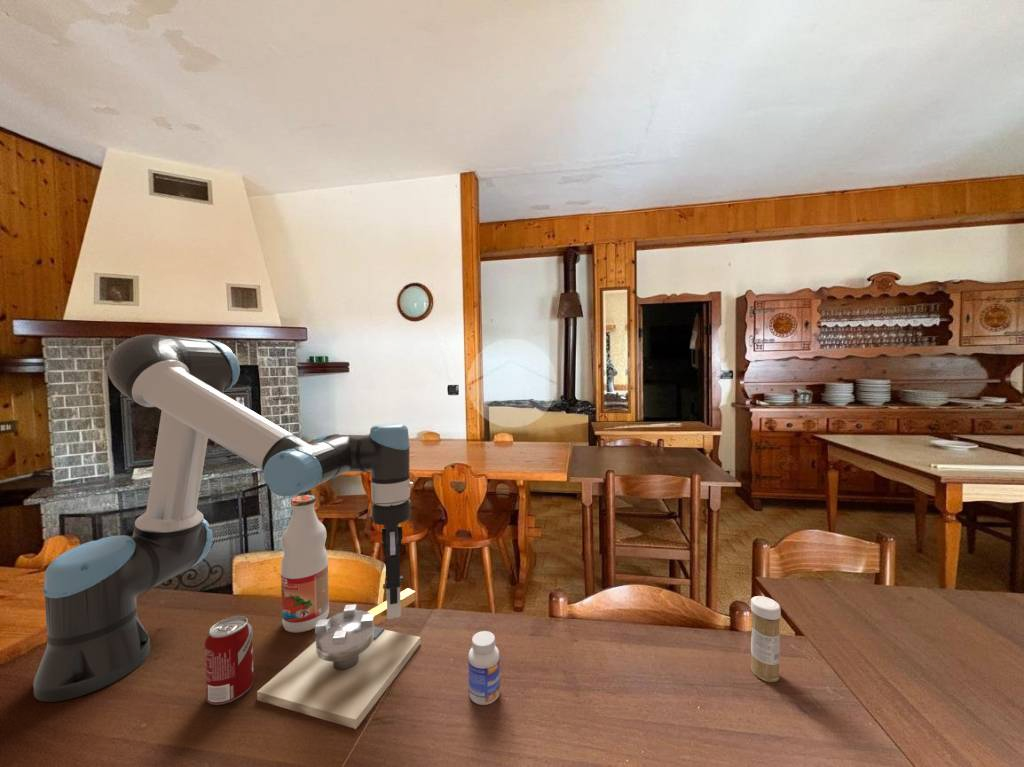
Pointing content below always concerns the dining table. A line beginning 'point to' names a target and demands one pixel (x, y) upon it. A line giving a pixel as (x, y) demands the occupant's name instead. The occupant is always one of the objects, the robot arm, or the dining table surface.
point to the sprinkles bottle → (765, 638)
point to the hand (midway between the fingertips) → (393, 616)
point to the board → (341, 679)
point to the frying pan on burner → (352, 630)
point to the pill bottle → (484, 669)
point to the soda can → (229, 660)
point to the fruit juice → (304, 568)
